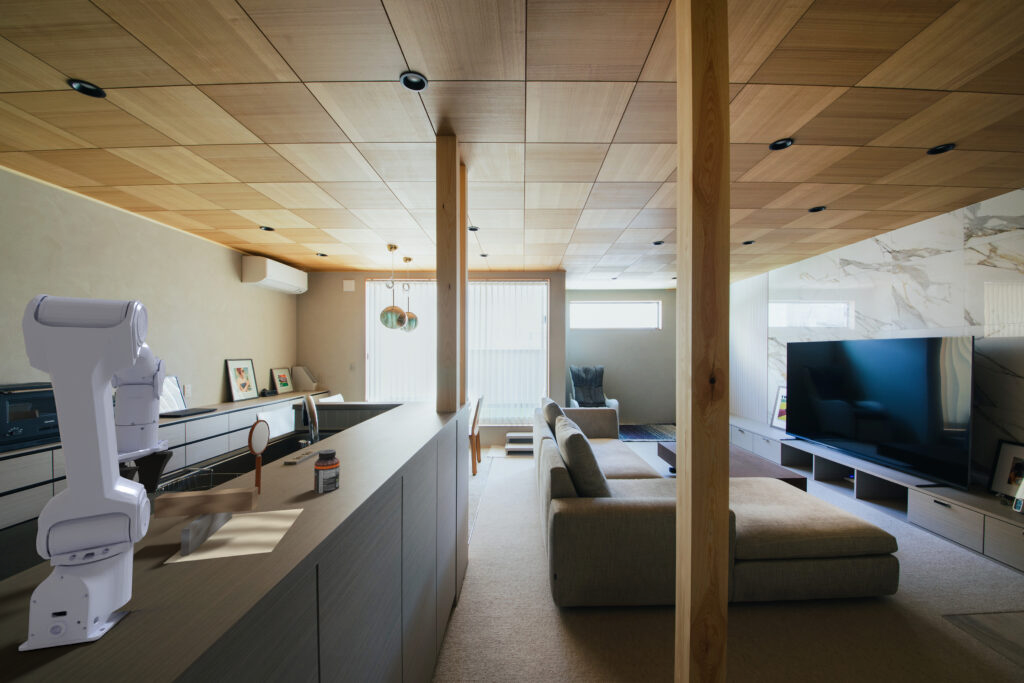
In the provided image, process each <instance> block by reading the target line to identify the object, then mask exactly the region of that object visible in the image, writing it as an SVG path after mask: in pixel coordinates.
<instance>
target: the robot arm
mask: <svg viewBox="0 0 1024 683" xmlns="http://www.w3.org/2000/svg"><path fill="white" fill-rule="evenodd" d="M147 310H148V309H147V307H146V305H145V304H144V303H143V302H141V300H138V299H132V300H127V299H126V300H122V299H108V298H107V299H105V298H92V297H76V296H73V297H71V296H59V295H58V296H57V295H49V294H46V293H45V294H44V293H42V294H36V295H35V296H34V297H33V298H32V299H30V300H29V301H28V302H27V304H26V306H25V309H24V313H23V316H22V319H21V330H22V334H23V335H22V336H23V340H24V346H25V353H26V356H27V357H28V361H29V366H30V367H31V368H33V369H36V370H38V371H41V372H43V373H46V374H47V375H49V378H50V382H51V388H52V392H53V397H54V403H55V407H56V414H57V415H56V416H57V421H58V429H59V430H58V431H59V435H60V437H59V438H60V443H61V450H62V455H63V456H62V457H63V463H64V464H63V465H64V472H65V477H66V486H67V487H66V488H65V489H64V490H61V491H60V492H59V493H56V495H54V496H53V497H51V498H50V500H48V501H47V503H46V504H45V506H43V507H44V508H43V509H42V510H41V512H40V514H39V516H38V518H37V528H38V530H37V535H36V544H35V546H36V547H35V548H36V551H37V554H38V555H39V556H40V557H41V558H43V560H50V567H54V568H53V570H52V572H51V573H50V574H49V576H47V577H46V578H45V579H44V580H43V581H42V582H41V583H40V584H38V586H37V587H36V588H35V590H33V592H32V594H31V597H30V601H29V616H28V618H29V619H28V620H29V621H28V636H27V637H28V638H27V640H26V641H25V642H23V643H22V644H20V645H19V646H18V651H19V652H24V651H30V650H38V649H43V648H50V647H52V648H53V647H57V646H65V645H72V644H80V643H85V642H92V641H96V640H99V639H100V638H101V637H102V636H103V635H104V634H106V632H108V631H109V630H110V629H112V628H113V627H114V626H115V625H116V624H117V623H119V622H120V620H122V619H123V618H124V617H125V616H127V614H128V613H130V612H131V610H125V611H117V610H119V609H120V608H122V607H123V606H124V605H126V604H127V603H128V602H129V601H130V600H131V599H132V593H133V592H132V589H133V588H132V587H133V566H134V565H133V564H134V562H133V561H134V545H135V543H139V542H140V541H141V540H142V539H143V538H144V537H145V536H146V534H147V533H148V529H149V525H150V524H149V523H150V518H151V503H150V502H151V501H150V499H149V498H148V496H147V494H154V493H156V492H157V491H158V487H159V484H160V482H161V478H162V475H163V473H164V471H165V468H166V467H167V465H168V464H169V462H170V460H171V459H172V457H173V456H174V452H173V450H168V449H169V439H159V430H160V429H159V426H160V423H159V422H160V402H161V400H160V399H161V398H160V397H161V396H162V395H163V390H164V389H163V386H164V382H165V379H166V364H165V362H166V361H165V360H164V359H159V356H155V355H154V354H153V351H152V350H151V348H150V346H149V345H148V344H147V342H145V341H146V340H147V334H148V331H149V330H148V327H149V314H148V311H147ZM113 389H115V401H114V400H113ZM113 401H114V402H115V403H114V402H113ZM132 461H133V463H134V466H128V464H127V463H129V462H132ZM136 474H137V475H138V482H137V481H133V480H134V478H135V476H136ZM115 611H117V612H115Z"/></svg>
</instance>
